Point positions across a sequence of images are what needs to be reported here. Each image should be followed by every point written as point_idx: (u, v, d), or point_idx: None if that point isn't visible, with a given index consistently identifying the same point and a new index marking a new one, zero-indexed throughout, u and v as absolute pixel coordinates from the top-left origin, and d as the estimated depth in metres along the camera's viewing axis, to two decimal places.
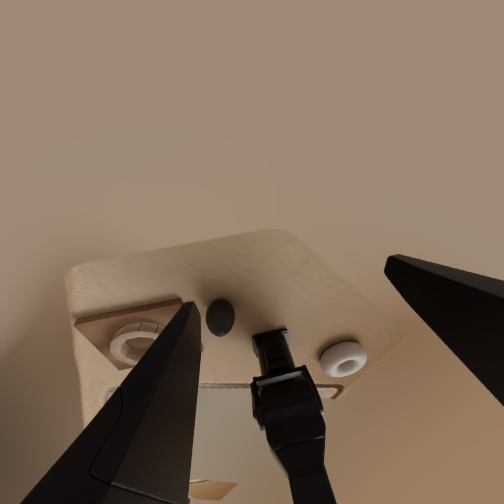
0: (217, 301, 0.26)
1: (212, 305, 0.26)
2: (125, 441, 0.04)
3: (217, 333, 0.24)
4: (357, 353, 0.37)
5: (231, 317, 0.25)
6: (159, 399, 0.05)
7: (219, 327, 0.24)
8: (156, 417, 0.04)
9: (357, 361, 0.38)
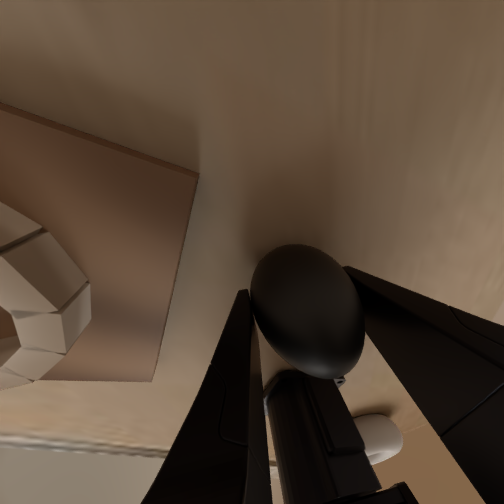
0: (310, 246, 0.08)
1: (301, 249, 0.07)
2: (243, 410, 0.04)
3: (332, 364, 0.05)
4: (400, 443, 0.22)
5: None
6: (252, 376, 0.05)
7: (353, 339, 0.05)
8: (253, 392, 0.04)
9: (387, 452, 0.23)
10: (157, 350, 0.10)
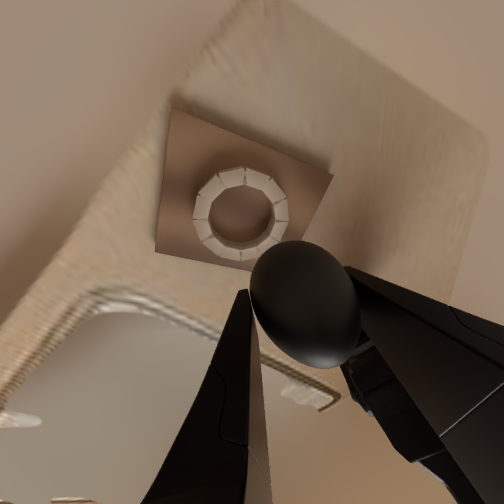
0: (308, 242, 0.08)
1: (299, 244, 0.07)
2: (243, 410, 0.04)
3: (328, 354, 0.05)
4: None
5: None
6: (252, 376, 0.05)
7: (348, 330, 0.05)
8: (253, 392, 0.04)
9: None
10: None
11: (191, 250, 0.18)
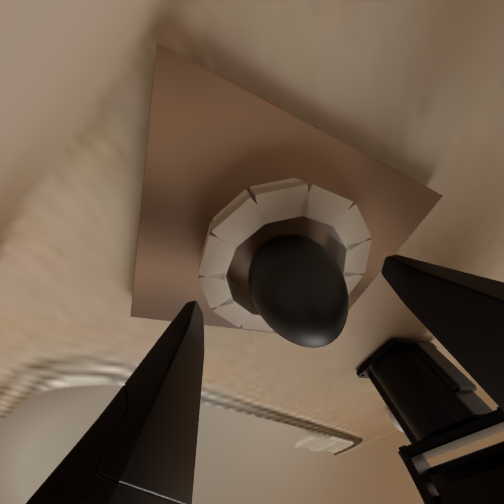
0: None
1: (293, 237, 0.08)
2: (131, 439, 0.04)
3: (317, 332, 0.06)
4: None
5: None
6: (164, 398, 0.05)
7: (336, 311, 0.06)
8: (161, 416, 0.04)
9: None
10: None
11: None
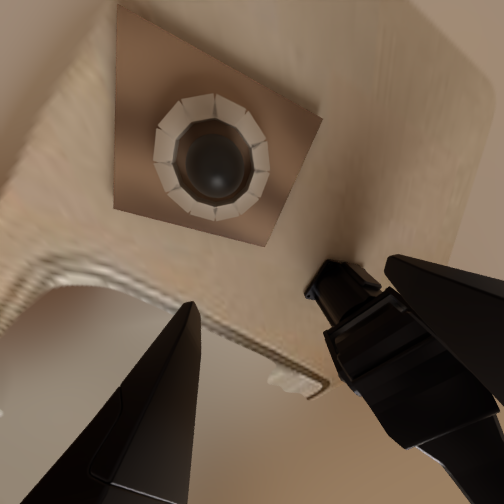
0: None
1: None
2: (125, 441, 0.04)
3: (210, 167, 0.10)
4: None
5: (242, 168, 0.12)
6: (159, 399, 0.05)
7: (221, 157, 0.11)
8: (156, 417, 0.04)
9: None
10: (276, 220, 0.18)
11: (158, 208, 0.16)
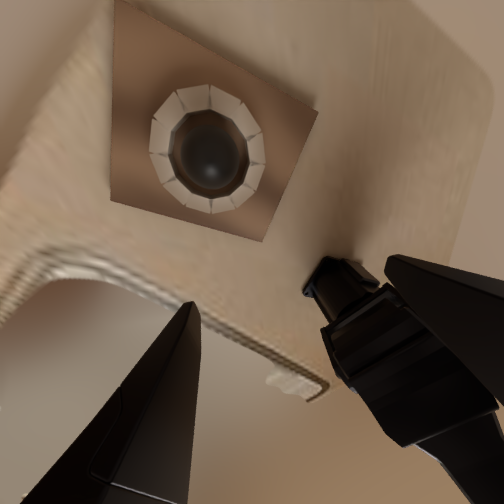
0: None
1: None
2: (125, 441, 0.04)
3: (203, 155, 0.11)
4: None
5: (237, 158, 0.12)
6: (159, 399, 0.05)
7: (214, 146, 0.11)
8: (156, 417, 0.04)
9: None
10: (273, 215, 0.18)
11: (154, 201, 0.16)
